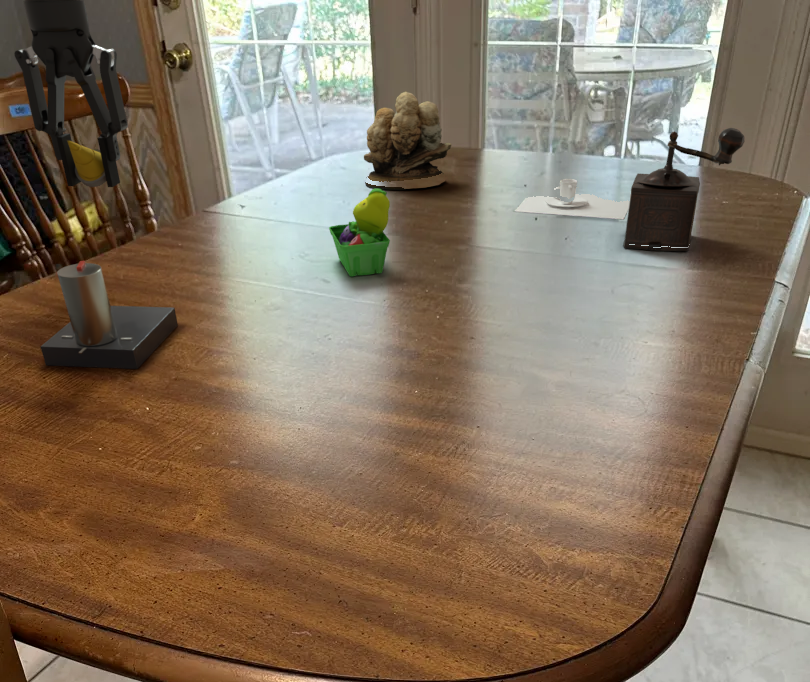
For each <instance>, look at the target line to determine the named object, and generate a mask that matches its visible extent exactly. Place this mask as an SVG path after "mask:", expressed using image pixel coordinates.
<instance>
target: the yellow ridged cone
mask: <svg viewBox="0 0 810 682" xmlns="http://www.w3.org/2000/svg"><path fill="white" fill-rule="evenodd" d="M68 144H69V147H70V150H71V153H72V157H73V160H74V163H75V173H76V176H77V177H78V179H79V180H80V181H81V182H80V183H82V184H83V185H84V186H86V187H89V188H98V187H100V186H102V185H104V184H105V183H107V181H106V176H105V172H104V167H103V162H102V158H101V153H100V149H99V148H89V147H87V146H84V145H83V144H79V143H77V142H74V141H73V140H72V141H68Z"/></svg>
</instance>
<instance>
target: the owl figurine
mask: <svg viewBox="0 0 810 682" xmlns="http://www.w3.org/2000/svg"><path fill="white" fill-rule="evenodd" d="M394 108H395V111H394V110H393V109H392V108H390V107H381V108H379V109H378V110H377V111H376V113H375V117H374V121H373V122H372V123H371V125H370V126H369V127H368V128H367V130H366V140H367V141H366V146H367V149H369V152H368V153H365V154H364V155H363V160H364V161H365V162H366V163H368V164H372V167H373V170H372V171H371V172H369V174H368V175H369V176H368V175H367V177H368V178H369V179H370V180H372V181H379V182H381V181H382V182H384V181H387V182H388V181H389V182H391V181H404V180H413V179H421V178H428V177H432V176H436V175H439V174H441V173H443V171H442V170H440V169H439V168H438V167H439V166H437V165H434V164H432V163H431V162H433V161H437V160H441V159H444V158H446V157H447V155H448V151H449V150H450V149H451V147H452V143H450V142H445V143H444V142H442V131H443V130H442V128H441V125H440V116H439V108H438V105H437V104H436V103H435V102H432V101H427V100H426V101H423V102H422V103H419V101H418V99H417V97H416V96H415V95H414V94H413V93H412V92H408V91H404V92H401V93H400V94H399V95H398V96H397V97H396V99H395V107H394ZM439 170H440V171H439ZM364 184H365V186H367V187H368V188H370V189H381V190H390V191H407V190H406V189H404V188H402V187H385V186H376V185H371V184H368V183H366V182H365V181H364Z"/></svg>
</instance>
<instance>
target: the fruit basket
mask: <svg viewBox="0 0 810 682" xmlns="http://www.w3.org/2000/svg"><path fill="white" fill-rule="evenodd" d="M390 207H391V203H390V199H389V198H388V196H387V192H386V191H385V190H383V189H376V188H372V189H371V190H370V191H369V193H368V195H367V197H366V198H364V199H362V200H361V201H360V202H358V203H356V204H355V206H354V208H353V210H352V216H353V217H354V220H355V221H348V224H337V225H336V224H335V225H331V226H329V227H328V230H329V232H330V235H331V237H332V240H333V243H334V247H335V250H336V253H337V258H338V259H339V261H340V262H341V264H342V266H343V267H344V269H345V271H346V272H347V274H348V276H349V277H356V276H369V275H374V274H377V275H378V274H382V273H383V270H384V267H385V261H386V256H387V252H388V248H389V246H390V242H391V240H390V239H389V237H388V236H387V235H386V234H385V232H384V231H385V230H386V228H387V226H388V223H389V210H390Z"/></svg>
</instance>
